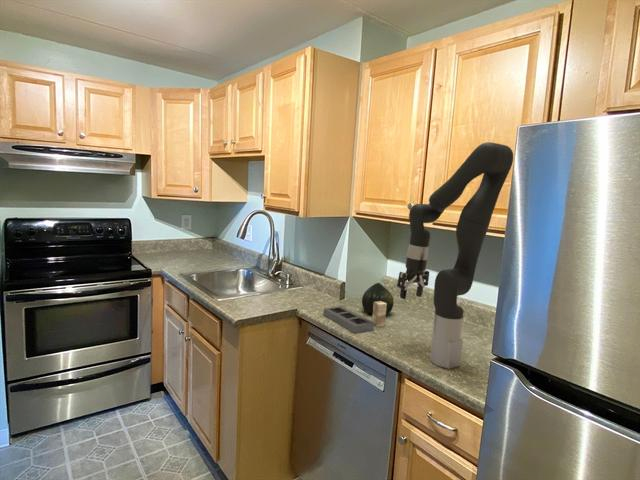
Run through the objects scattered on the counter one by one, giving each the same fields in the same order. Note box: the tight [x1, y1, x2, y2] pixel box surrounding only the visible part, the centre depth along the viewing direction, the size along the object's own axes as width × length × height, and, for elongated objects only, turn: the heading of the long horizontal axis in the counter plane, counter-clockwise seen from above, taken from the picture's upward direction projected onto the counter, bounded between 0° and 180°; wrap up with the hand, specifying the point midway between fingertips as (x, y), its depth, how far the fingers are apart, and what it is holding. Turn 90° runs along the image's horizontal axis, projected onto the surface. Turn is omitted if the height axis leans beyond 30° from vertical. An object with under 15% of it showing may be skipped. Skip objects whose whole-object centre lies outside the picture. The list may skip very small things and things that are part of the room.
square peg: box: [371, 301, 387, 328], centre depth 164 cm, size 4×4×10 cm
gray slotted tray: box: [322, 306, 375, 334], centre depth 165 cm, size 24×10×3 cm, turn 32°
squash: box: [361, 282, 395, 315], centre depth 180 cm, size 14×15×15 cm
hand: (410, 297), depth 144 cm, fingers open, 8 cm apart
